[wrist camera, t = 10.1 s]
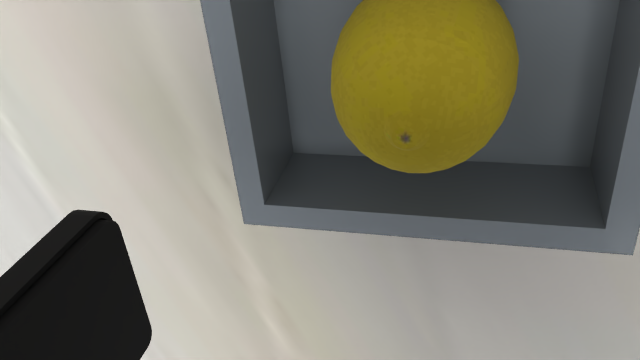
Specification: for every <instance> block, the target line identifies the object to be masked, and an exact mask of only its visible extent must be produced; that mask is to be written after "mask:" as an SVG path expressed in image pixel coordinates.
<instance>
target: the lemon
mask: <svg viewBox="0 0 640 360" xmlns="http://www.w3.org/2000/svg"><path fill="white" fill-rule="evenodd" d="M518 65H519V55H518V50H517V45H516V40H515V35H514V31H513V28H512V26H511V24H510V22H509V20H508V19H507V17H506V15H505V13H504V11H503V9H502V7H501V6H500V5H499V3H498V2H497V1H496V0H363V1H362V2H361V3H360V4H359V5H358V6H357V7H356V8H355V10H354V11H353V13H352V14H351V16H350V18H349V19H348V21H347V22H346V24H345V25H344V27H343V28H342V31H341V33H340V36H339V39H338V42H337V45H336V49H335V52H334V55H333V59H332V68H331V96H332V100H333V104H334V108H335V113H336V116H337V119H338V121H339V123H340V125H341V127H342V128H343V130H344V132H345V134H346V136H347V137H348V138H349V139H350V140H351V141H352V143H353V144H354V145H355V146H356V147H357V148H358V149H359V151H360V152H362V153H363V154H364V155H366V156H367V157H369V158H370V159H371V160H373V161H374V162H376V163H378V164H380V165H383V166H385V167H387V168H390V169H392V170H397V171H401V172H406V173H431V172H436V171H441V170H445V169H448V168H451V167H453V166H455V165H457V164H460V163H462V162H464V161H466V160H467V159H469V158H470V157H471V156H473V155H474V154H475V153H476V152H478V151H479V150H480V149H482V148H483V147H484V146H485V145H486V144H487V143H488V141H489V140H490V139H491V137H492V136H493V135H494V133H495V132H496V131H497V129H498V128H499V127H500V125H501V124H502V122H503V121H504V119H505V116H506V114H507V112H508V109H509V107H510V104H511V102H512V99H513V97H514V94H515V91H516V85H517V76H518Z"/></svg>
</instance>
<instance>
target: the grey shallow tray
mask: <svg viewBox="0 0 640 360" xmlns="http://www.w3.org/2000/svg"><path fill="white" fill-rule="evenodd" d="M362 1H363V0H200V2H201V7H202V12H203V17H204V22H205V27H206V32H207V37H208V42H209V48H210V53H211V58H212V63H213V68H214V73H215V78H216V83H217V88H218V93H219V99H220V104H221V109H222V114H223V119H224V124H225V129H226V134H227V139H228V144H229V150H230V155H231V160H232V165H233V170H234V175H235V180H236V185H237V190H238V195H239V201H240V206H241V211H242V216H243V221H244V224H252V225H265V226H277V227H289V228H302V229H314V230H327V231H339V232H351V233H364V234H376V235H389V236H401V237H413V238H426V239H438V240H451V241H463V242H475V243H488V244H500V245H513V246H525V247H537V248H550V249H562V250H575V251H587V252H599V253H612V254H624V255H633V252H634V248H635V244H636V240H637V236H638V232H639V228H640V0H496V1H497V2H498V3H499V5H500V6H501V7H502V9H503V11H504V13H505V15H506V17H507V19H508V20H509V22H510V24H511V26H512V28H513V31H514V35H515V40H516V45H517V50H518V55H519V65H518V76H517V85H516V91H515V94H514V97H513V99H512V102H511V104H510V107H509V109H508V112H507V114H506V116H505V119H504V121H503V122H502V124H501V125H500V127H499V128H498V129H497V131H496V132H495V133H494V135H493V136H492V137H491V139H490V140H489V141H488V143H487V144H486V145H485V146H484V147H483V148H482V149H480V150H479V151H478V152H476V153H475V154H474V155H473V156H471V157H470V158H469V159H467V160H466V161H464V162H462V163H460V164H457V165H455V166H453V167H451V168H448V169H445V170H441V171H436V172H431V173H406V172H401V171H397V170H392V169H390V168H387V167H385V166H383V165H380V164H378V163H376V162H374V161H373V160H371V159H370V158H369V157H367V156H366V155H364V154H363V153H362V152H360V151H359V149H358V148H357V147H356V146H355V145H354V144H353V143H352V141H351V140H350V139H349V138H348V137H347V136H346V134H345V132H344V130H343V128H342V127H341V125H340V123H339V121H338V119H337V116H336V113H335V108H334V104H333V100H332V96H331V68H332V59H333V55H334V52H335V49H336V45H337V42H338V39H339V36H340V33H341V31H342V28H343V27H344V25H345V24H346V22H347V21H348V19H349V18H350V16H351V14H352V13H353V11H354V10H355V8H356V7H357V6H358V5H359V4H360V3H361V2H362Z"/></svg>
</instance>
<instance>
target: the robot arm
mask: <svg viewBox="0 0 640 360" xmlns="http://www.w3.org/2000/svg"><path fill="white" fill-rule="evenodd" d="M151 336H152V329H151V325H150V322H149V318H148V315H147V312H146V309H145V306H144V303H143V300H142V296H141V293H140V290H139V287H138V284H137V281H136V277H135V274H134V271H133V268H132V265H131V262H130V258H129V255H128V252H127V249H126V246H125V243H124V240H123V236H122V233H121V230H120V227H119V225H118V224H117V223H116V222H115V221H113V220H112V218H111V216H110V215H109V214H108V213H105V212H98V211H86V210H74V211H72V212H71V213H69V214H68V215H67V216H66V217H65V218H64V219H63V220H62V221H60V222H59V223H58V224H57V225H56V226H55V227H54V228H53V229H52V230H51V231H50V232H49V233H48V234H46V235H45V236H44V237H43V238H42V239H41V240H40V241H39V242H38V243H37V244H36V245H35V246H33V247H32V248H31V249H30V250H29V251H28V252H27V253H26V254H25V255H24V256H23V257H22V258H21V259H19V260H18V261H17V262H16V263H15V264H14V265H13V266H12V267H11V268H10V269H9V270H8V271H6V272H5V273H4V274H3V275H2V276H1V277H0V360H140V358H141V357H142V355H143V354H144V352H145V351H146V349H147V348H148V346H149V344H150V341H151Z"/></svg>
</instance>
